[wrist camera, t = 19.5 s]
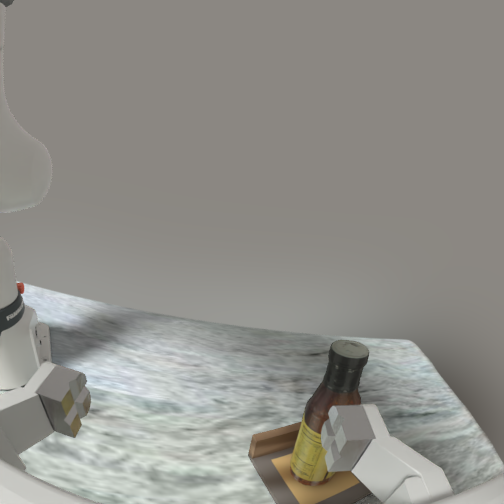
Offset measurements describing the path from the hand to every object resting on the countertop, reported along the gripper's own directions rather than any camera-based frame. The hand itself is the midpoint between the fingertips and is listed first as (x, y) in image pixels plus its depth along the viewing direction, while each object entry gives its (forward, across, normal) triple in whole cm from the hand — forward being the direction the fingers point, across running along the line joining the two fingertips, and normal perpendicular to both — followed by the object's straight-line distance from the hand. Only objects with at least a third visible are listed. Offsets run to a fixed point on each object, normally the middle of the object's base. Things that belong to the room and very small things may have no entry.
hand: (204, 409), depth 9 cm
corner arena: (+15, -14, +30) cm, 36 cm away
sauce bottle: (+15, -13, +28) cm, 35 cm away
